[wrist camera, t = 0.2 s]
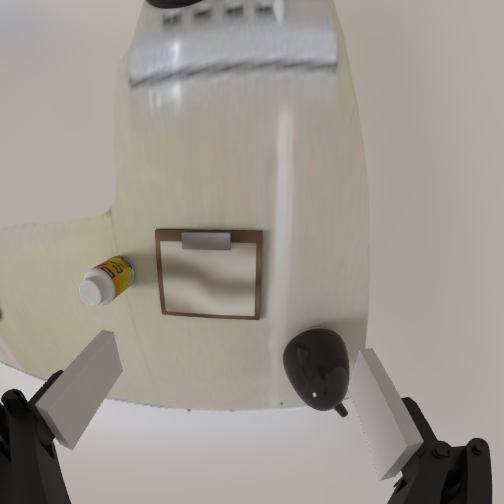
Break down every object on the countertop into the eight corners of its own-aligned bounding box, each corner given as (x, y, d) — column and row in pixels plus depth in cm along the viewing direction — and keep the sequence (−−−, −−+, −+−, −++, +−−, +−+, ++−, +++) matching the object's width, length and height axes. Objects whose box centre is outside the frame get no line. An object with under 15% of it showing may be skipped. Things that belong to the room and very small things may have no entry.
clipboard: (156, 229, 40) (152, 231, 38) (262, 230, 39) (262, 232, 38) (163, 312, 43) (160, 317, 41) (259, 318, 43) (259, 323, 41)
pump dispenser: (303, 375, 46) (316, 437, 31) (268, 341, 44) (272, 405, 29) (350, 344, 44) (379, 401, 29) (318, 305, 42) (344, 362, 27)
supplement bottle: (138, 261, 41) (108, 283, 31) (133, 291, 42) (104, 318, 32) (110, 250, 41) (75, 268, 31) (106, 279, 42) (73, 303, 32)
